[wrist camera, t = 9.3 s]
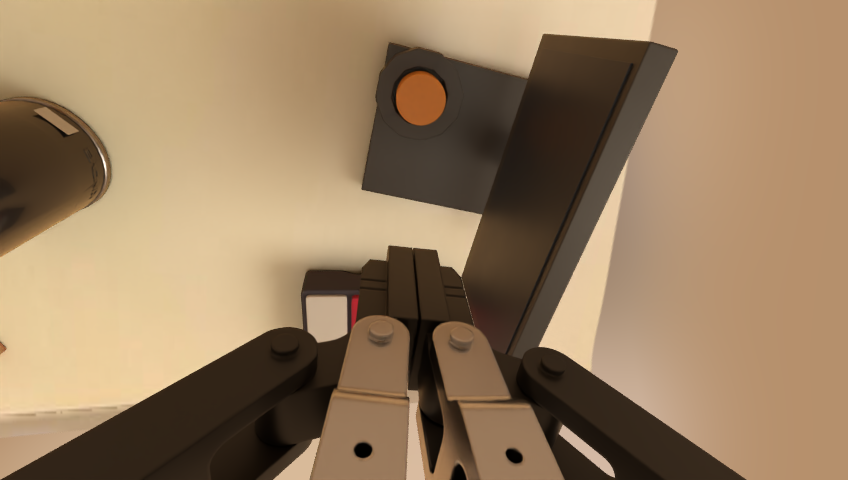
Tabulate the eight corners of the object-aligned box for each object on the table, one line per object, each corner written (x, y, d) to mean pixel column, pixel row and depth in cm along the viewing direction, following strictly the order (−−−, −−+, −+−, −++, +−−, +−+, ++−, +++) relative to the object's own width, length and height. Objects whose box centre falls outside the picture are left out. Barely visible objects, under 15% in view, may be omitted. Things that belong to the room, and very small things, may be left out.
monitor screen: (459, 277, 33) (491, 396, 23) (541, 33, 25) (648, 40, 15) (482, 281, 34) (524, 400, 23) (570, 41, 26) (695, 54, 15)
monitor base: (359, 184, 37) (356, 196, 35) (386, 37, 32) (386, 39, 29) (517, 217, 40) (525, 230, 37) (566, 86, 35) (580, 91, 32)
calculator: (450, 379, 44) (305, 384, 42) (444, 351, 48) (310, 354, 46) (463, 294, 39) (299, 295, 37) (454, 270, 43) (305, 269, 41)
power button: (391, 114, 32) (391, 119, 30) (401, 65, 31) (402, 68, 29) (436, 124, 33) (438, 130, 31) (448, 77, 31) (451, 80, 30)
